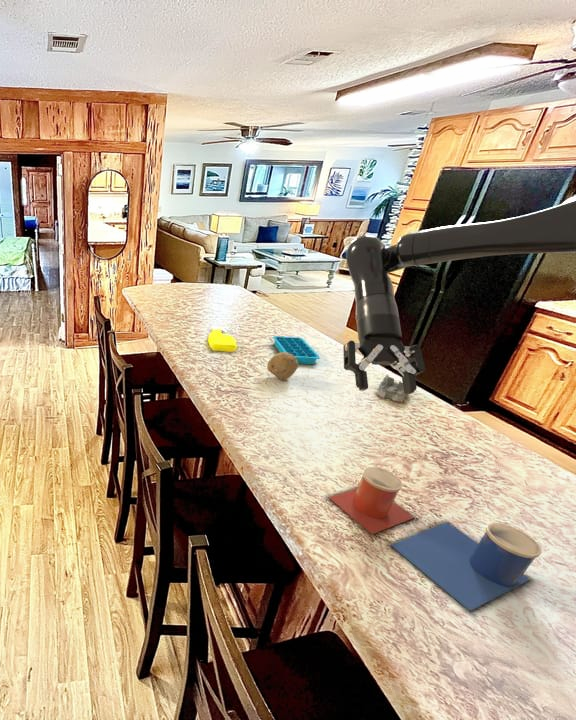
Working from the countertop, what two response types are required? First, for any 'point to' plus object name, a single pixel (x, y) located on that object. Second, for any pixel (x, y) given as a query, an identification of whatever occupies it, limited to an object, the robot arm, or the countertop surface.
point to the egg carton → (391, 389)
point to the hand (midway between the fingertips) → (386, 391)
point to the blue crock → (504, 554)
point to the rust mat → (369, 523)
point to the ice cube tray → (296, 349)
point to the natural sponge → (282, 365)
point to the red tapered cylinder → (376, 492)
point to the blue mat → (451, 564)
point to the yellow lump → (221, 340)
